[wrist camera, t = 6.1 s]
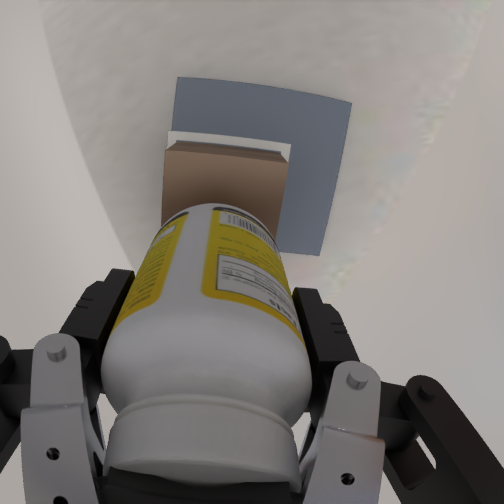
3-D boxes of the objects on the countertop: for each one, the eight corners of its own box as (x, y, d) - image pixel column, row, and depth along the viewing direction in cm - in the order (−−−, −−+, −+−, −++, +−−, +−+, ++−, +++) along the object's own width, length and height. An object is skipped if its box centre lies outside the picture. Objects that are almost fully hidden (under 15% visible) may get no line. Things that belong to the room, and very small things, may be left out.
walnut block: (177, 141, 20) (165, 150, 17) (279, 152, 21) (289, 163, 18) (171, 235, 24) (160, 260, 20) (264, 244, 24) (269, 271, 21)
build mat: (177, 78, 19) (174, 76, 18) (347, 102, 21) (352, 103, 20) (164, 236, 25) (162, 242, 24) (315, 252, 26) (318, 258, 25)
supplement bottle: (166, 317, 15) (125, 518, 6) (140, 207, 12) (9, 412, 4) (281, 307, 15) (323, 517, 6) (276, 193, 12) (364, 416, 4)
